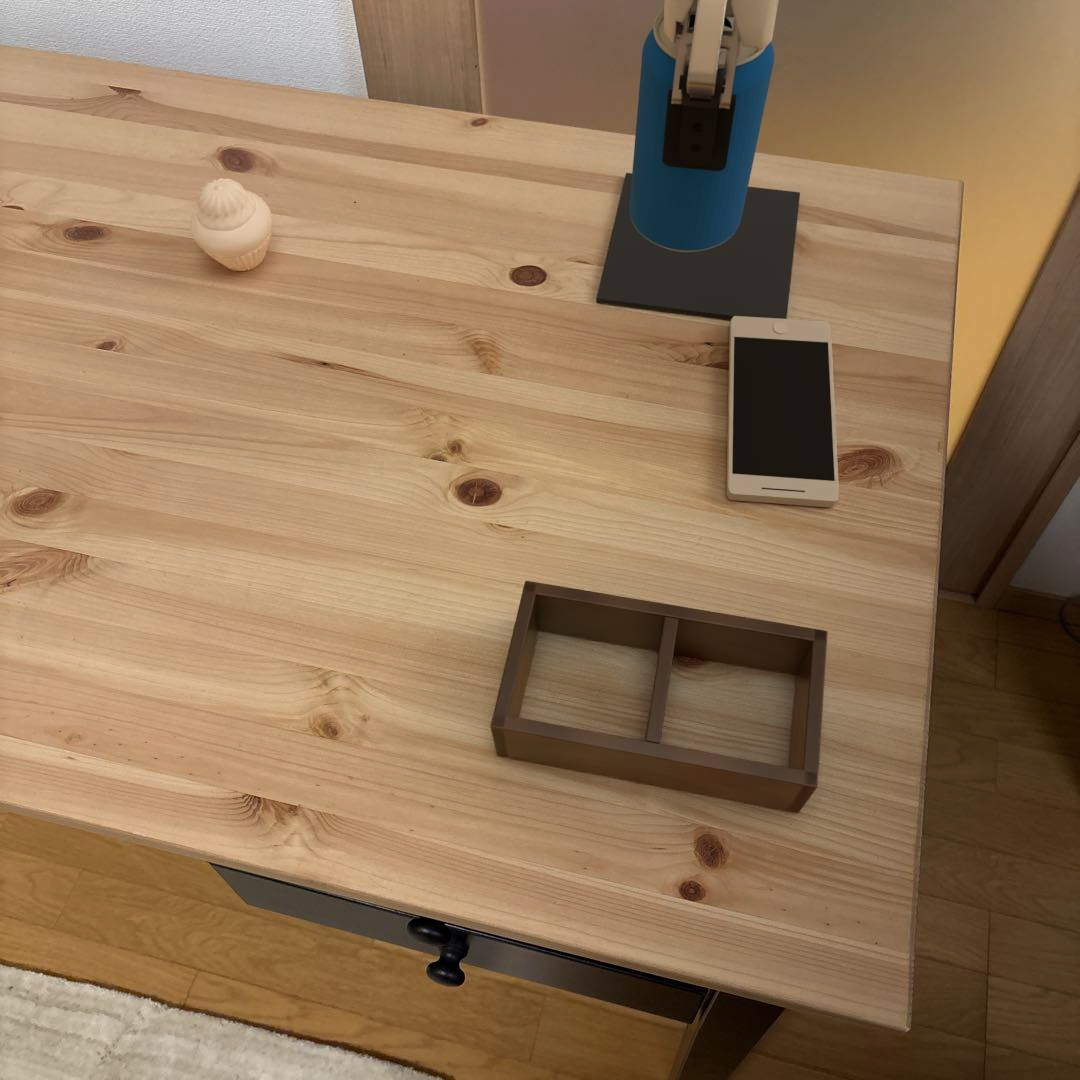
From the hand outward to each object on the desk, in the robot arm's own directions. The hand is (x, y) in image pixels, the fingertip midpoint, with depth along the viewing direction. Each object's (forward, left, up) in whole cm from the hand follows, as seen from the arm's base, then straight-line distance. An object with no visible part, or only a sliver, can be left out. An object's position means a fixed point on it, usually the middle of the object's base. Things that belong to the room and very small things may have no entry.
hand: (701, 116), depth 52 cm
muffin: (+34, -6, -22) cm, 41 cm away
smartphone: (-8, +1, -22) cm, 23 cm away
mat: (-1, -13, -22) cm, 25 cm away
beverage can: (0, 0, -7) cm, 7 cm away
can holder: (-3, +25, -22) cm, 33 cm away
